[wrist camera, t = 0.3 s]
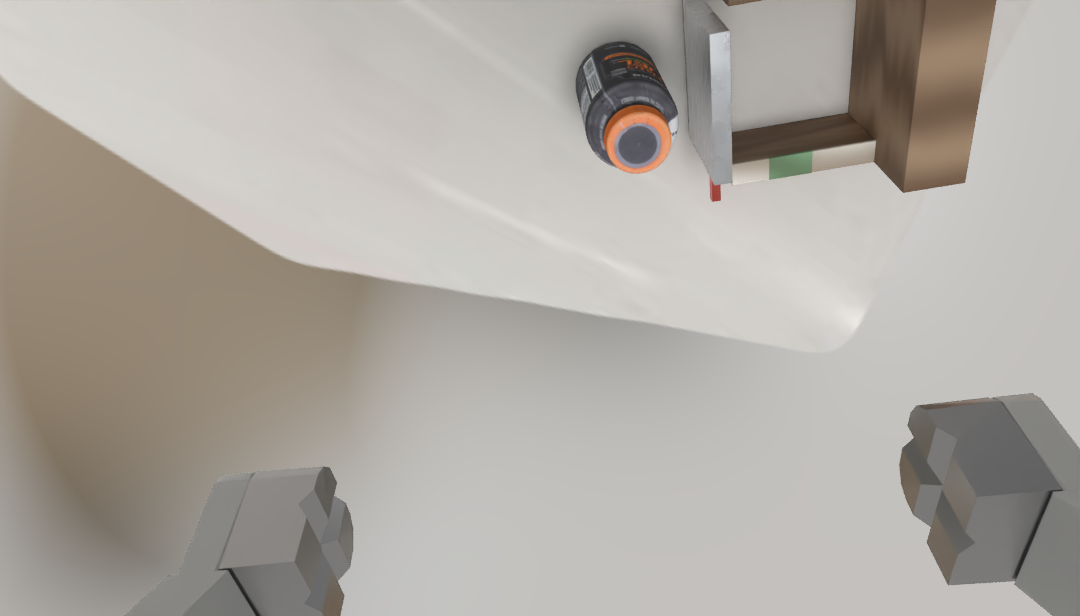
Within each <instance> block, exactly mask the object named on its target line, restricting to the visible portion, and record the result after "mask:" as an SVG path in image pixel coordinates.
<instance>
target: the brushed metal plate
mask: <svg viewBox="0 0 1080 616" xmlns="http://www.w3.org/2000/svg"><path fill="white" fill-rule="evenodd" d="M683 15H684V35H685V54H686V74H687V93H688V113H689V133H690V139H691V141H692V143H693V145H694V147H695V149H696V151H697V153H698V155H699V156H700V158H701V160H702V162H703V164H704V166H705V168H706V170H707V172H708V174H709V176H710V198H711V200H712V202H714V201H720V200H721V193H720V184H726V183H732V182H733V180H732V125H731V69H730V31H729V29H728V28H727V27H726V26H725V25H724V24H723V22H722V21H721V20H720V19H719V18H718V17H717V16H716V14H715V13H714V12H713V11H712V10H711V9H710V7H709V6H708V5H707V4H706V3H705V2H704V1H703V0H683Z"/></svg>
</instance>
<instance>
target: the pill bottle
mask: <svg viewBox="0 0 1080 616" xmlns="http://www.w3.org/2000/svg"><path fill="white" fill-rule="evenodd" d="M576 93H577V98H578V102H579V106H580V110H581V114H582V119H583V122H584V127H585V131H586V136H587V139H588V142H589V144H590V146H591V148H592V150H593V151H594V152H595V154H596V155H597V156H598V157H599V158H600V159H601V160H603V161H604V162H606V163H607V164H609V165H611V166H614V167H617V168H619V169H621V170H623V171H625V172H628V173H644V172H648V171H650V170H653V169H654V168H656V167H657V166H659V165H660V164H661V163H662V162H663V161H664V160H665V158H666V157H667V155H668V153H669V151H670V148H671V145H672V144H673V142H674V140H675V137H676V134H677V130H678V111H677V108H676V105H675V103H674V101H673V99H672V97H671V95H670V93H669V91H668V89H667V87H666V86H665V83H664V81H663V80H662V78H661V76H660V74H659V72H658V70H657V68H656V66H655V64H654V62H653V60H652V59H651V57H650V56H649V55H648V54H647V53H646V52H645V51H644V50H642V49H641V48H639V47H638V46H636V45H633V44H630V43H625V42H616V43H611V44H606V45H604V46H601V47H599V48H598V49H596V50H594V51H593V52H592V53H591V54H589V55H588V56H587V58H586V59H585V60H584V61H583V63H582V65H581V66H580V68H579V71H578V74H577V78H576Z"/></svg>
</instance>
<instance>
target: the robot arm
mask: <svg viewBox="0 0 1080 616" xmlns="http://www.w3.org/2000/svg"><path fill="white" fill-rule="evenodd" d="M908 427H909V429H910V431H911V433H912V435H913V437H914V438H913V439H912V440H911V441H910V442H909V443H908V444H907V445H905V446H904V447H903V448H902V453H901V459H900V464H899V466H900V476H901V485H902V488H903V491H904V495H905V498H906V500H907V503H908V505H909V507H910V509H911V511H912V513H913V515H914V516H916V517H917V518H919V519H920V520H922V521H923V522H924V523H926V524H927V525H929V526H930V527H931V529H930V533H929V536H928V540H927V544H928V546H929V548H930V550H931V552H932V554H933V556H934V558H935V560H936V562H937V564H938V566H939V568H940V570H941V572H942V574H943V576H944V578H945V580H946V582H947V584H948V585H959V584H975V583H991V582H1006V581H1015V583H1014V584H1015V585H1016V586H1017V587H1018V588H1019V589H1021V590H1022V591H1023V592H1024V593H1026V594H1027V595H1028V596H1029V597H1030V598H1032V599H1033V600H1034V601H1035V602H1037V603H1038V604H1039V605H1040V606H1041V607H1043V608H1044V609H1045V610H1046V611H1047V612H1049V613H1050V614H1051V615H1052V616H1080V449H1079V447H1078V446H1077V445H1076V443H1075V442H1074V441H1073V439H1072V438H1071V437H1070V436H1069V434H1068V433H1067V432H1066V430H1065V429H1064V428H1063V426H1062V425H1061V424H1060V423H1059V421H1058V420H1057V419H1056V417H1055V416H1054V415H1053V413H1052V412H1051V411H1050V410H1049V408H1048V407H1047V406H1046V404H1045V403H1044V402H1043V401H1042V399H1041V398H1039V397H1038V396H1036V395H1034V394H1033V393H1029V394H1020V395H1010V396H1001V397H993V398H980V399H971V400H962V401H953V402H945V403H935V404H927V405H918V406H916V407H915V408H914V410H912V412H911V414H910V418H909V422H908ZM336 485H337V482H336V480H335V478H334V475H333V473H332V471H331V469H330V468H329V467H312V468H298V469H286V470H272V471H259V472H252V473H240V474H229V475H228V474H227V475H222V476H221V477H220V478H219V480H218V481H217V482H216V483H215V484H214V486H213V488H212V491H211V493H210V496H209V498H208V501H207V503H206V506H205V508H204V511H203V513H202V516H201V518H200V521H199V523H198V526H197V528H196V531H195V533H194V536H193V539H192V541H191V543H190V546H189V548H188V551H187V553H186V556H185V559H184V561H183V564H182V566H181V568H180V571H179V574H176V575H169V576H167V577H166V578H165V579H164V580H163V581H161V582H160V584H158V585H157V586H156V587H155V588H154V589H153V590H152V591H151V592H150V593H148V594H147V595H146V596H145V597H144V598H143V599H142V600H141V601H140V602H139V603H138V604H137V605H135V606H134V607H133V608H132V609H131V610H130V611H129V612H128V613H127V614H126V615H125V616H340V614H341V610H342V605H343V600H344V594H343V592H342V589H341V587H340V585H339V583H338V580H339V579H340V578H341V577H342V576H343V575H344V573H345V572H346V571H347V570H348V569H349V568H350V565H351V559H352V552H353V525H352V521H351V515H350V512H349V510H348V507H347V505H346V503H345V502H343V501H342V500H340V499H339V498H337V497H335V496H334V493H335V489H336Z"/></svg>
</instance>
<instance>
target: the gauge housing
mask: <svg viewBox="0 0 1080 616" xmlns="http://www.w3.org/2000/svg"><path fill="white" fill-rule="evenodd" d="M723 1H724V2H725V3H726V4H727V5H728V6H733V5H738V4H744V3H750V2H755V1H761V0H723ZM995 5H996V0H856V14H855V27H854V41H853V55H852V69H851V83H850V96H849V110H848V113H846V114H840V115H834V116H828V117H822V118H816V119H810V120H804V121H798V122H792V123H786V124H780V125H774V126H768V127H763V128H757V129H751V130H745V131H739V132H733V133H732V180H733V182H732V185H737V184H743V183H749V182H755V181H761V180H767V179H769V180H770V179H776V178H782V177H788V176H795V175H801V174H807V173H812V172H816V171H822V170H828V169H834V168H840V167H846V166H852V165H858V164H864V163H870V162H875V163H876V164H877V166H878V167H879V168H880V169H881V170H882V171H883V172H884V173H885V174H886V175H887V176H888V177H889V178H890V179H891V180H892V181H893V183H894V184H895V185H896V186H897V187H898V188H899V189H900V190H901V191H902V192H903V193H905V192H911V191H917V190H923V189H929V188H935V187H942V186H948V185H953V184H959V183H965V179H966V173H967V168H968V161H969V156H970V150H971V144H972V138H973V133H974V127H975V121H976V115H977V109H978V104H979V98H980V92H981V86H982V80H983V75H984V69H985V63H986V57H987V51H988V46H989V40H990V34H991V28H992V22H993V17H994V11H995Z"/></svg>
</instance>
